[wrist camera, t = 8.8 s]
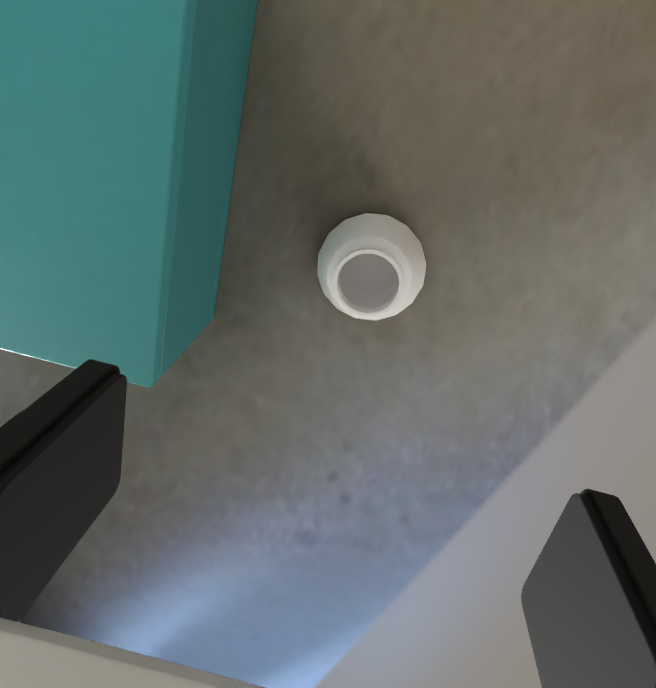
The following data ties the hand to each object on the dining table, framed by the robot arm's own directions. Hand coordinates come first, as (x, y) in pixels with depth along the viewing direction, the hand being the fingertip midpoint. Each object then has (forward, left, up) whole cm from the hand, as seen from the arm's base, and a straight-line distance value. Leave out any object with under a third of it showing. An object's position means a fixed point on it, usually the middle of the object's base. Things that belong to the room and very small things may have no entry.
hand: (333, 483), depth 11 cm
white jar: (0, 0, -16) cm, 16 cm away
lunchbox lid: (-4, -13, -9) cm, 16 cm away
